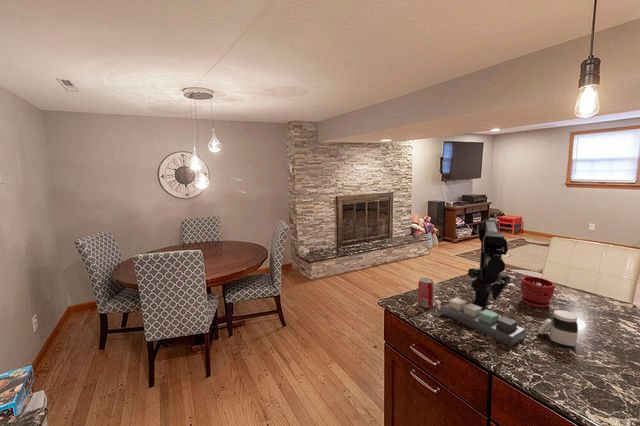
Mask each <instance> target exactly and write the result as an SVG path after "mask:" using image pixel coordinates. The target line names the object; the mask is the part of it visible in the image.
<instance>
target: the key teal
mask: <svg viewBox="0 0 640 426" xmlns="http://www.w3.org/2000/svg"><path fill="white" fill-rule="evenodd" d="M498 318H500V317H499V313H497V312H494V311H492V310H489V309H485V310H482V312H480V317H479V320H481V321H483V322H486V323H488V324H490V325H494V324H496V323H497V319H498Z"/></svg>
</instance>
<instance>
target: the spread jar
mask: <svg viewBox="0 0 640 426" xmlns="http://www.w3.org/2000/svg"><path fill="white" fill-rule="evenodd" d="M577 321H578V316H577V315H576V314H575V313H572V312H570V311H567V310H561V309H556V310H554V311H553V316H552V317H551V319H549V318H547V319H546V320H545V321H544V322H543V323H542V324H541V326H540V327H539V329H538V330H537V333H538V334H540V335H541V336H542V335H544V334H545V333H546V332H547V331H548V330H549V340H550V341H551V343H553V344H554V345H556V346H557V347H561V348H565V349H573V348H575V347H576V346H577V341H578V335H579V334H578V333H579V325H578V322H577ZM549 328H550V329H549Z"/></svg>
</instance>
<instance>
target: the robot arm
mask: <svg viewBox="0 0 640 426" xmlns="http://www.w3.org/2000/svg"><path fill="white" fill-rule="evenodd" d="M476 234H477V237H478V239H479V241H480V244H481V245H480V256H479V268H475V267H473V268H469V269H468V270H467V275H468V276H469V277H470V278H471V279H473V281H471V283H470V287H471V289H472V292H475V294H474V295H475V296H474V299H472V301H471V302H472V303H473V304H474V303H475V304H476V305H480V306H482V307H487V306H489V305H491V304H492V301H489V299H490V297H491V296H492V299H493V301H496V300H497V299H498V298H499V297H500V295H501V293H502V292H503V291H504V289H505V288H506V287H507V285H508V284H510V283H511V277H510V276H509V275H508V274H503V272H504V270H505V269H506V264H505V261H504V259H503V258H502V255H503V256H505V255H507V253H508V251H509V247H508V241H507V238H505V236H504V234H503V233H500V232H499V224H498V223H497V220H495V219H487V218H486V219H483V221H481V222H479V223H478V224H477V226H476Z"/></svg>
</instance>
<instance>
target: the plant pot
mask: <svg viewBox="0 0 640 426" xmlns="http://www.w3.org/2000/svg"><path fill="white" fill-rule="evenodd" d="M533 282H534V283H533ZM537 283H540V285H538V284H537ZM555 286H556V285H555V283H554V282H552V281H550V280H549V279H546V278H543V277H538V276H523V277H522V278H521V284H520V291H521V294H522V295H521V296H520V300H521V301H522V302H523V303H524V304H526V305H528V306H530V307H531V306H532V307H535V308H540V309H541V308H547V307H549V306H550V304H551V303H550V301H551V299H552V297H553V295H554V294H555V293H554V291H555V288H556V287H555Z"/></svg>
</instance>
